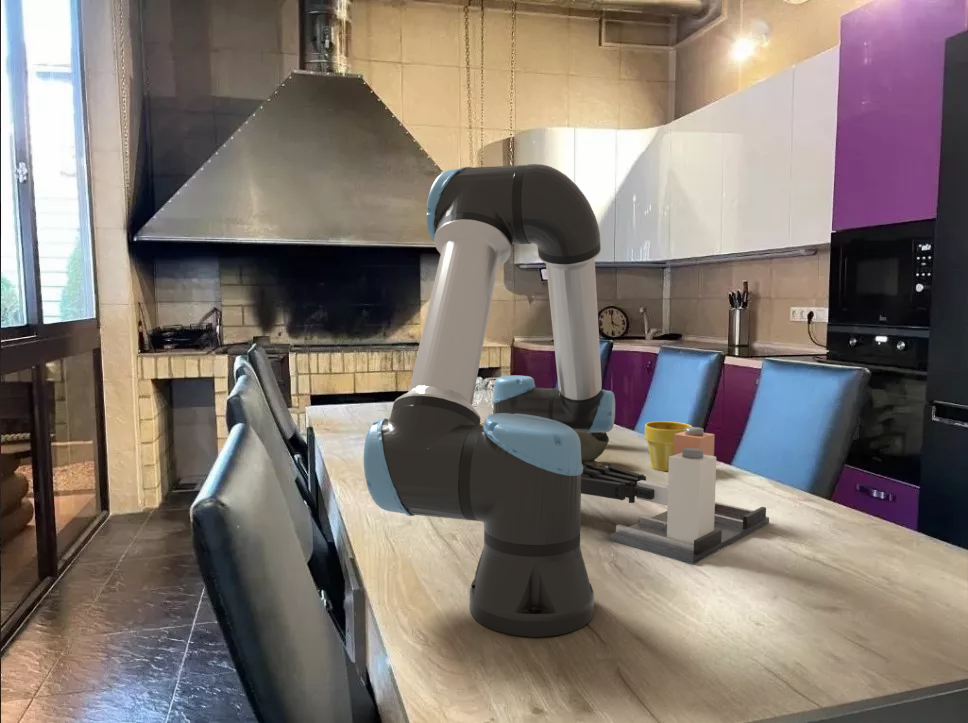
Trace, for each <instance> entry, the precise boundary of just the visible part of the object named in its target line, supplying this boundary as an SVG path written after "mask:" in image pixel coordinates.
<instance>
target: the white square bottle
mask: <svg viewBox="0 0 968 723" xmlns="http://www.w3.org/2000/svg"><path fill="white" fill-rule="evenodd" d="M667 476H668V482H667V486H668V506H667V511H668V512H667V538H670V539H674V540H677V541H681V542H685V543H688V544H692V545H694V540H696V539H698V538H700V537H702V536H704V535H706V534H708V533H710V532H712V531H714V514H715V502H716V482H717V481H716V479H717V477H716V476H717V456H715V455H714V456H709V455H704V454H703V450H702V449H698V448H684V449H682V453H679V454H676V455H673V456H669V472H668V475H667Z"/></svg>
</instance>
